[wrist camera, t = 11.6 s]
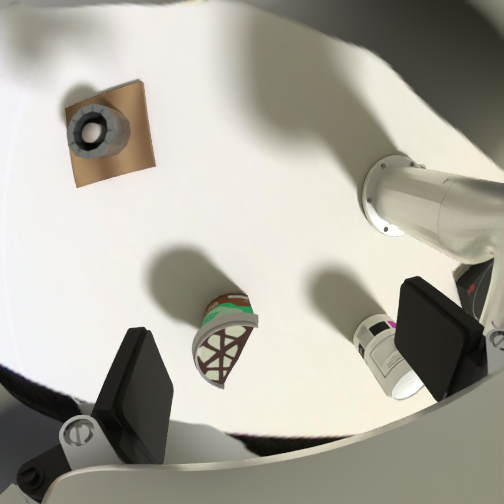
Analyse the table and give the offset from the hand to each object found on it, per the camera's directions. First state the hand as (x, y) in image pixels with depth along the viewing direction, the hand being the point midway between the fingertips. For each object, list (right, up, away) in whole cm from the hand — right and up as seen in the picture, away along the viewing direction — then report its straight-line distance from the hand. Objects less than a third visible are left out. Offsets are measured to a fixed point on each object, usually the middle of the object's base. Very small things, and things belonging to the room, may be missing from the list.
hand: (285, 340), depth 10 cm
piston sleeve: (-20, +19, +22) cm, 35 cm away
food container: (-7, -6, +34) cm, 35 cm away
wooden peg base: (-21, +19, +23) cm, 36 cm away
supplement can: (+21, -11, +38) cm, 45 cm away
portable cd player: (+52, -4, +39) cm, 65 cm away
